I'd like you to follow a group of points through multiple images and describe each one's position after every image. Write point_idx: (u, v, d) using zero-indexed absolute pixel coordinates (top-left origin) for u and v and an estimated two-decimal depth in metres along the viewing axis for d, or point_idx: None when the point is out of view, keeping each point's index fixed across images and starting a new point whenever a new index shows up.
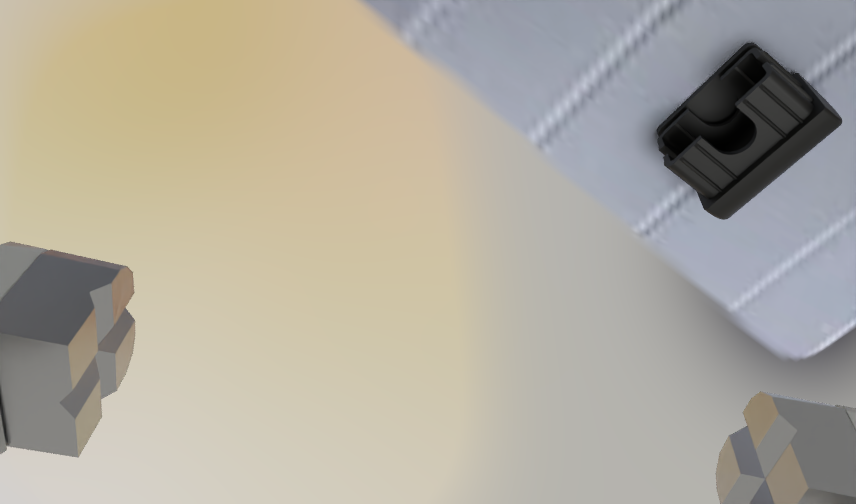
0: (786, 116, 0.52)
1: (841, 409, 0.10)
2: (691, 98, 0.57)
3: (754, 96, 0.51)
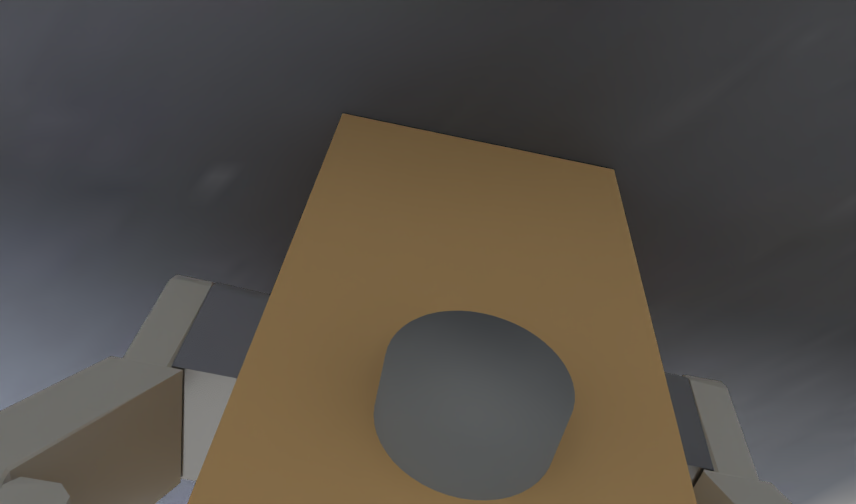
0: None
1: (685, 378, 0.10)
2: None
3: None
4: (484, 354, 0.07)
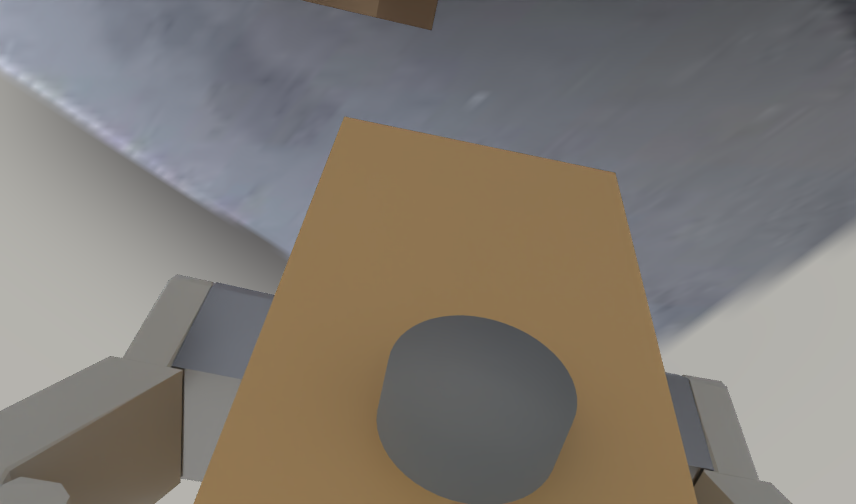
0: None
1: (685, 378, 0.10)
2: None
3: None
4: (487, 358, 0.07)
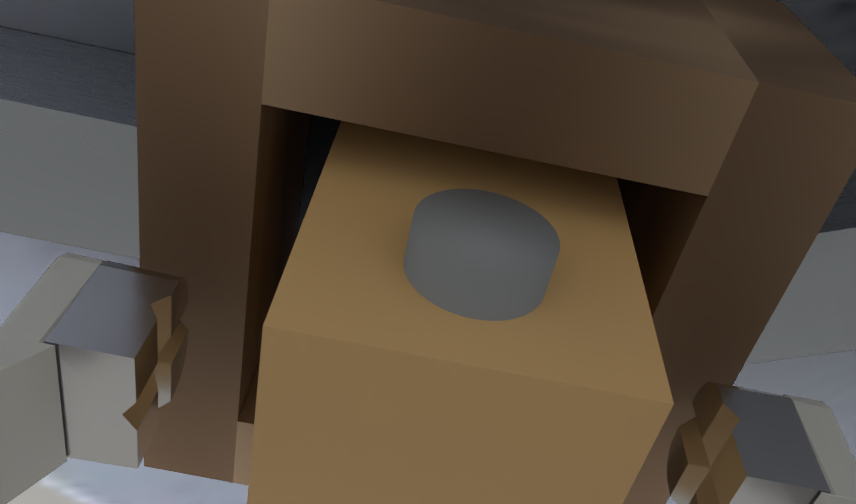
0: None
1: (787, 398, 0.10)
2: None
3: None
4: (490, 218, 0.09)
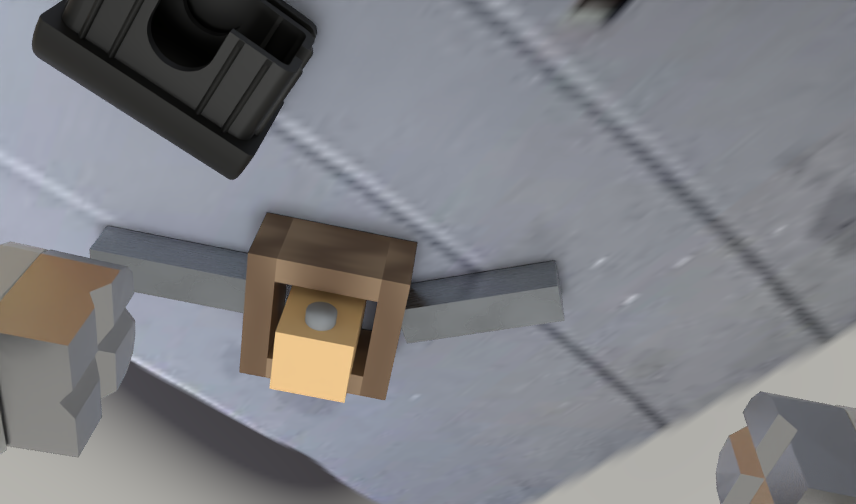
0: (228, 107, 0.34)
1: (841, 409, 0.10)
2: None
3: (251, 55, 0.33)
4: (323, 308, 0.41)
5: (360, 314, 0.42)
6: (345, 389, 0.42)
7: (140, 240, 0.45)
